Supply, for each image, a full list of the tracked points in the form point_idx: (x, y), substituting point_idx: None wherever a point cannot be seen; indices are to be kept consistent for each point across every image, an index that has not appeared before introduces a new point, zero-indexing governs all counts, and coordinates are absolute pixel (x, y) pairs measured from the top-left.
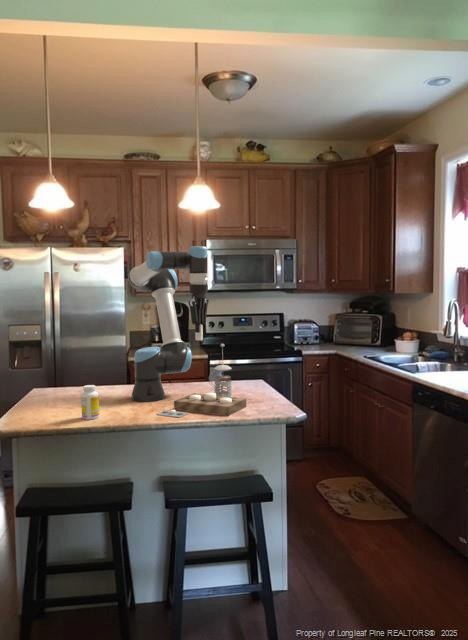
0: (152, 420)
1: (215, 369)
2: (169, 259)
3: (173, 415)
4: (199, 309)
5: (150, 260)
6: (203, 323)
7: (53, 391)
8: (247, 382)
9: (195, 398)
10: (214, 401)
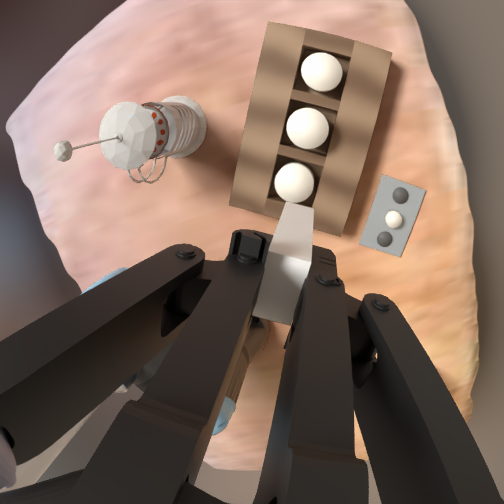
0: (448, 249)
1: (149, 157)
2: None
3: (412, 209)
4: (333, 441)
5: None
6: (269, 245)
7: (222, 457)
8: (23, 136)
9: (312, 176)
10: (331, 107)
